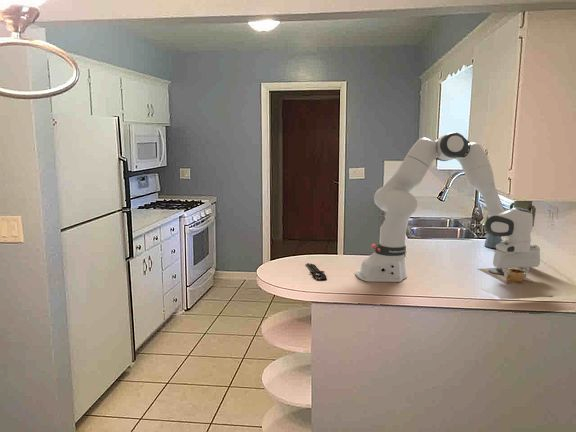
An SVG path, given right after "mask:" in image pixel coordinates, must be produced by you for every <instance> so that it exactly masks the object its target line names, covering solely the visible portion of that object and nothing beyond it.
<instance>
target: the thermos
mask: <svg viewBox="0 0 576 432" xmlns="http://www.w3.org/2000/svg"><path fill="white" fill-rule="evenodd" d="M513 207H521V208H525V209H527V210H529V211H530V212H531V213H532V217H533V224H532V228H534V226H535V225H534V224H535V220H536V219H535V217H536V211H537V209H536V207H535V205H533V200H532V201H513V202H511V204H509V210H510V209H512V208H513Z"/></svg>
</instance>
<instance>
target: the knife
mask: <svg viewBox="0 0 576 432" xmlns="http://www.w3.org/2000/svg"><path fill="white" fill-rule="evenodd" d="M305 266H306V268H307V269H308V270H309V274H311V275H312V277H313V279H316V281H317V282H321V281H328V277H327V274H325V271H324V270H320V269H319V268H318V266H316V264H313V263H310V262H307V263H306V264H305Z"/></svg>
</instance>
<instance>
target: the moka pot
mask: <svg viewBox="0 0 576 432" xmlns="http://www.w3.org/2000/svg"><path fill="white" fill-rule="evenodd" d="M488 217H489V214H488V215H486V220H487V219H488ZM501 242H503V241H502V236H499V237H496V236H492V235H490V234H489V233H488V232H486V237H485V243H484V247H486V248H491V249H496V245H497V244H498V243H501Z"/></svg>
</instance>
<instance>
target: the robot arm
mask: <svg viewBox="0 0 576 432" xmlns="http://www.w3.org/2000/svg"><path fill="white" fill-rule="evenodd" d="M435 160H437V161H440V162H447V161H452V160H456V161H457V162H459V164H460V165H461V168H462V170H463V173H464V177H465V179H466V181H467V182H468V184H469V186H470V187H472V188H473V189H475V190H476V191H477V192H478V193H479V194H480V195H481V197H482V199H483V201H484V205H485V207H486V208H487V212H488V215H489V217H488V219H487V218H486V221H485V222H484V228H485V230H486V233H489V234H490V235H492V236H496V237H499V236H501V237H507V240H504V241H502V242H501V243H498V244H497V245H496V248H495V249H496V250H495V251H494V253H493V254H494V255H493V263H492V264H493V267H494V268H499V269H501V268H502V270H503V272H504V277H505V278H510V274H508V272H507V271H508V269H510V268H515V269H521V268H523V271H525V275H524V277H526V278H527V275H528V273H529V271H530V270H531V268H538V267H539V266H540V265H541V264H540V263H541V256H540V255H541V254H540V253H541V252H540V251H541V248H540V247H539V246H538V245H536V244H533V245H532V244H531V243H532V242H531V241H532V238H531V233H532V231H533V227H532V224H533V217H532V211H531V212H530V211H529V210H527V209H525V208H521V207H514V206H513V208H512V209H510V208H509V209H508V210H506V208H505V207H504V206H503V204H502V201H501V198H500V196H499V194H498V191H497V189H496V184H495V178H494V172H493V168H492V166H491V162H490V160H489V157H488V155H487V154H486V152H485V150H484V148H483V147H482V145H481V144H480V143H479V142H475V141H474V142H470V141H469V140H468V139H466V137H464V135H462V134H461V133H459V132H454V131H452V132H448V133H446V134H444V135H441V136H440V137H437V139H435V140H432V139H430V138H427V137H420V138H419V139H417V141H416V142H415V143H414V144H413V145H412V146H411V148H410V149H409V151H408V152H407V154H406V155H405V157H404V159H403V160H402V162H401V164H400V166H399V167H398V169H397V170H396V171H395V173H393V174H394V175H392V177H390V179H388V181H387V182H386V183H385V184H383V186H382V187H380V188H379V189H376V191H375V193H374V196H373V201H374V204H375V205H376V206H377V207H378V208H379V210H381V211H384V212H386V213H385V218H384V221H383V223H382V224H381V225H380V228H379V243H378V244H377V245H376V244H375V243H372V244H371V248H372V249H374V252H373V253H372V254H370V255H369V256H368V257H366V258H364V259H363V261H362V263H361V265H360V269H356V271H355V276H356V277H357V278H358V279H360V280H362V281H364V282H367V283H370V282H373V283H375V282H377V283H378V282H381V283H383V282H384V283H389V282H390V283H399V282H403V280H405V279H407V278H408V274H407V270H406V259H405V257H406V253H407V245H406V235H407V228H408V227H407V226H408V224H409V221H410V218H411V216H412V215H413V214H414V213H415V212H416V211H417V208H418V200H417V198H416V197H415V196H414V195H413V194H411V193H410V192H411V191H412V190H413V189H414V188H416V187H418V186H419V185H420V184H421V182H422V181H423V179H424V177H426V176H425V175H426V174H427V172H428V170H429V169H430V167H431V165H432V163H433V162H434V161H435Z"/></svg>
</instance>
